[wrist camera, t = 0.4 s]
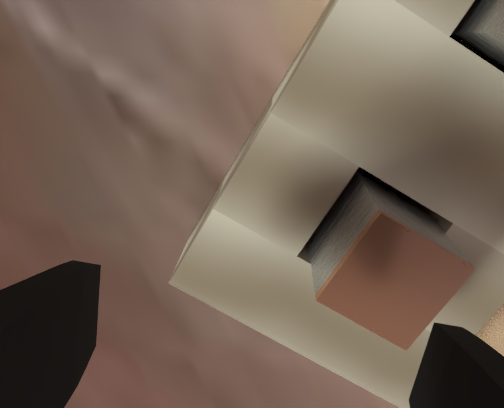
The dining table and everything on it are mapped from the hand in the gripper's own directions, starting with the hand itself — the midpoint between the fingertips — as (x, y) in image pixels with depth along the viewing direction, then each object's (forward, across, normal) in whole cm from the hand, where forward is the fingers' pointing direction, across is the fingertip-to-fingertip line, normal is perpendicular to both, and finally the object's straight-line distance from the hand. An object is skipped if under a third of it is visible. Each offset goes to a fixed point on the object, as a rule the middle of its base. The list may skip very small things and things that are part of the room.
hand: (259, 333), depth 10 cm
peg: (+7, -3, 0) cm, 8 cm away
